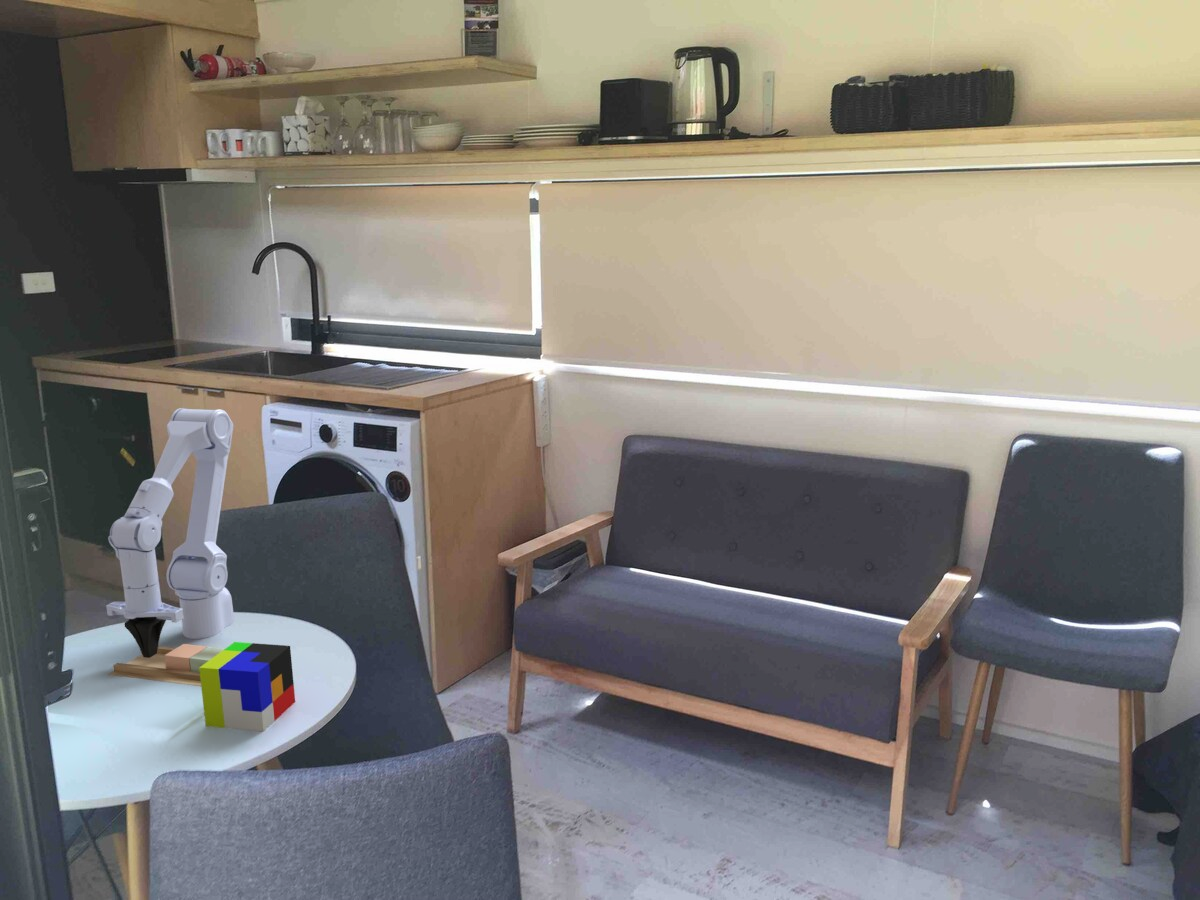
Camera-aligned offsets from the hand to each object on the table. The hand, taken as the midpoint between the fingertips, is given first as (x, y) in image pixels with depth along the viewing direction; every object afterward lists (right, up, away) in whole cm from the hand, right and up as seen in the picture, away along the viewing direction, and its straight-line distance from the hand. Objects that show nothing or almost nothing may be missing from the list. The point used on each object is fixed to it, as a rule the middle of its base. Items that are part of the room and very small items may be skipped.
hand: (150, 655), depth 177 cm
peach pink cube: (+8, -2, -2) cm, 8 cm away
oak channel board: (+9, -3, -2) cm, 9 cm away
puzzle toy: (+24, -6, -17) cm, 30 cm away
